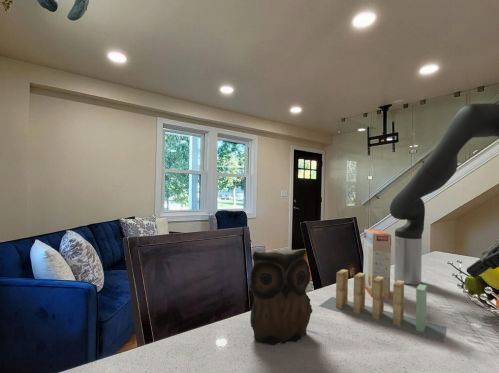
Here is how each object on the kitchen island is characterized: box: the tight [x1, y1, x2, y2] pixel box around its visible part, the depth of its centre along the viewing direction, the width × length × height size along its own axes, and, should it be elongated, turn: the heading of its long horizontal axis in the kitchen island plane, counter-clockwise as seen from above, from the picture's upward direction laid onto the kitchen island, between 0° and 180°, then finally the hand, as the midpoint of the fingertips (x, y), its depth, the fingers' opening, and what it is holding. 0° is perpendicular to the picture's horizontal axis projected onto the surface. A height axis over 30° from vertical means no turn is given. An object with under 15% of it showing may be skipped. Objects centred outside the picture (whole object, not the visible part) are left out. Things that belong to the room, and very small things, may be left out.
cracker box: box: [362, 228, 392, 300], centre depth 96 cm, size 14×6×21 cm, turn 168°
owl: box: [249, 248, 313, 346], centre depth 65 cm, size 13×13×20 cm
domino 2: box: [352, 272, 366, 314], centre depth 79 cm, size 5×2×10 cm, turn 141°
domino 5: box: [415, 283, 428, 332], centre depth 70 cm, size 5×2×10 cm, turn 141°
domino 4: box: [392, 280, 405, 326], centre depth 73 cm, size 5×2×10 cm, turn 141°
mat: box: [318, 296, 448, 343], centre depth 76 cm, size 10×30×1 cm, turn 51°
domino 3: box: [371, 276, 385, 320], centre depth 76 cm, size 5×2×10 cm, turn 141°
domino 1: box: [335, 268, 349, 309], centre depth 82 cm, size 5×2×10 cm, turn 141°
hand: (469, 273), depth 64 cm, fingers closed
